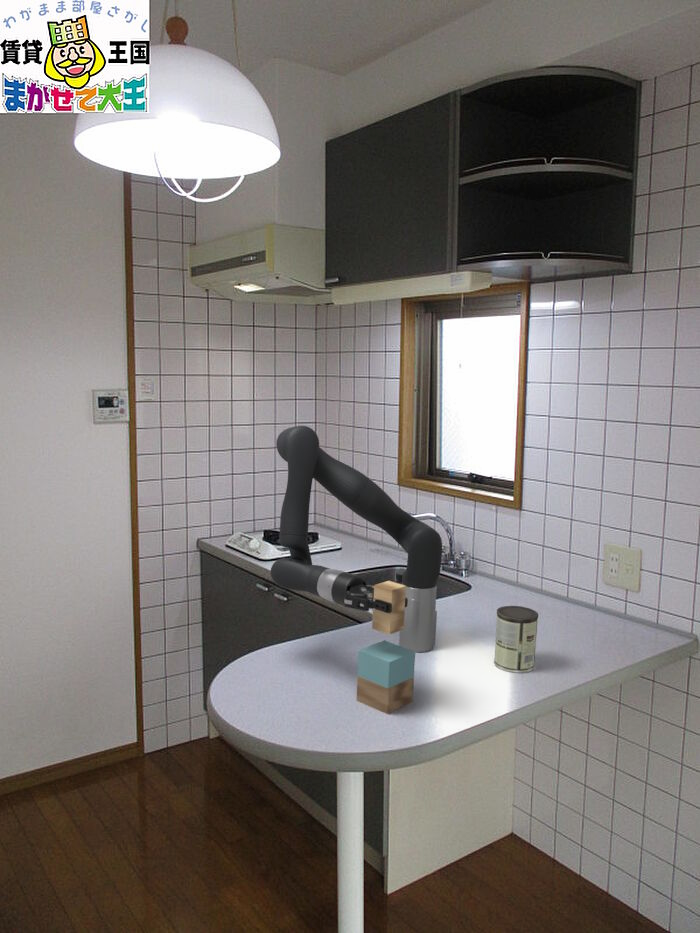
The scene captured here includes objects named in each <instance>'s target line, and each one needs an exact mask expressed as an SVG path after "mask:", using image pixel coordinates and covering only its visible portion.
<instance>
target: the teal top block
mask: <svg viewBox="0 0 700 933" xmlns="http://www.w3.org/2000/svg"><path fill="white" fill-rule="evenodd" d="M357 651H358V653H357V655H358V656H357V673H356V676H359V677H362V678H364V679H366V680H369V681H371V682H374V683H376V684H378V685H381V686H383V687H385V688H391V687H393V686H395V685H397V684H399V683H402V682H404V681H406V680H408V679H411V678H413V677H415V665H416V664H415V663H416V652H415V651H412V650H410V649H407V648H404V647H401V646H399V644H396V643H392V642H391V641H387V640H386V639H385V640H382V641H380V642H376V643H373V644H372V645H369V646H365V647H364V648H363V647H362V648H361V649H358V650H357Z"/></svg>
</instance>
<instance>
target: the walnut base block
mask: <svg viewBox="0 0 700 933" xmlns="http://www.w3.org/2000/svg"><path fill="white" fill-rule="evenodd" d="M356 676H357V675H356ZM414 677H415V676H414ZM414 677H413V678H411V679H408V680H406V681H404V682H402V683H399V684H397V685H395V686H393V687H391V688H385V687H383V686H381V685H378V684H376V683H374V682H371V681H369V680H366V679H364V678H362V677H359V676H357V681H356V702H358V703H360V704H363V705H364V706H367V707H370V708H372V709H374V710H377V711H379V712H382V713H384V714H386V715H390V714H391V713H393V712H394V711H397V710H398V709H401V708H403V707H405V706H407V705H408V704H411V703H412V702H413V700H414V696H413V695H414V684H415V683H414V682H415V681H414V680H415V679H414Z"/></svg>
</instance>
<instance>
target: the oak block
mask: <svg viewBox="0 0 700 933" xmlns="http://www.w3.org/2000/svg"><path fill="white" fill-rule="evenodd" d="M373 586H374V597H375V598H377V600H378V599H380V600H383V601H386V602H389V603H391V604H392V612H391V613H386V612H383V611H379V610H372V618H371V619H372V620H371V629H373V630H375V631H378V632H381V633H384V634H386V635H389V636H390V635H392V634H395V633H398V632H400V631H401V630H403V629H404V615H405V598H406V586H405V585H402V584H398V583H395V582H394V581H391V580H387V581H384V582H380V583H376V584H373Z"/></svg>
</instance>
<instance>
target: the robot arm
mask: <svg viewBox="0 0 700 933" xmlns="http://www.w3.org/2000/svg"><path fill="white" fill-rule="evenodd" d="M275 446H276V450H277V452H278V454H279V456H280V457H281V459H282V460H284V461H285V462H287V483H286V484H287V485H286V489H285V494H284V498H283V501H282V505H281V511H280V517H279V518H280V520H279V521H280V522H279V536H278V537H279V539H278V540H279V545H280V546H282V547H283V548H287V549H288V551H289V555H290V557H283V558H278V559H277V560H275V561H274V563H273V564H272V565H271V568H270V577H271V579H272V581H273V582H274V584H275V585H277V586H278V587H281V588H282V589H286V590H293V591H298V592H305V593H309V594H311V595H315V596H317V597H320V598H323V599H325V600H327V601H329V602H331V603H335V604H338V605H340V606H343V607H346V608H348V609H353V610H354V609H355V610H359V611H363V612H369V611H370V610H371V611H373V610H379V611H383V612H386V613H391V612H392V604H391V603H389V602H386V601H383V600H380V599H378V600H377V598H375V597H374V584H373V585H372V584H367V583H366V582H365V579H364V578H363V577H362V576H360V575H357V574H354V573H351V572H350V573H349V572H346V571H343V570H340V569H335V568H330V567H326V566H322V565H318V564H313V561H312V556H311V551H310V546H309V540H308V538H309V536H308V535H309V524H310V523H309V522H310V521H309V520H310V519H309V518H310V503H311V502H310V501H311V493H312V485H313V479H314V480H315V481H316V482H317V483H319V485H321V486H322V487H323V488H324V489H325V490H326V491H327V492H328V493H330V494H331V495H332V496H333V497H334V498H336V499H337V500H338V501H340V502H341V503H342V504H343V505H344V506H346V507H347V508H348V509H350V510H351V512H353V513H355V514H356V515H358V516H359V517H360V518H362V519H364V520H365V521H367V522H369V523H371V524H373V525H374V526H377V527H378V528H380V529H382V530H383V531H385V533H387V535H388V536H390V537H391V538H392V539H393V540H395V542H396V543H397V544H398V545H399V546H401V548H402V549H403V550H404V551H405V552H406V553H407V559H406V560H407V561H406V562H407V563H406V570H404V571H405V572H404V573H403V575H402V585H405V586H406V598H405V615H404V629H403V630H401V631H399V639H398V645H399V646H401V647H404V648H407V649H410V650H412V651H415V653H424V652H425V653H426V652H429V651H431V650H433V649H434V646H435V645H436V637H437V636H436V635H437V634H436V632H437V616H438V615H437V614H438V611H437V610H436V609H437V608H436V607H437V606H436V605H437V586H438V579H439V577H440V574H441V568H442V567H441V566H442V556H443V540H442V538H441V535H440V534H439V532H438V531H437V530H436V529H434V528H433V527H431V526H430V525H428V524H427V523H425V522H423V521H422V520H419V519H417V518H416V517H414V516H413V515H411V514H410V513H408V512H406V511H405V510H404V509H402V508H401V507H400V506H399V505H397V503H396V502H395V501H394V500H393V499H392V498H391V497H390V495H389V494H388V493H387V492H386V491H384V489H383V488H381V486H379V485H378V484H377V483H375V482H374V481H373V480H372V479H370V478H369V477H368V476H367V475H366V474H364V473H362V472H361V471H360V470H358V469H356V468H354V467H351V465H348V464H346V463H344V462H342V461H340V460H338V459H337V458H334V457H332V456H331V455H329V453H327V452H326V451H325V450H324V449H322V448H321V447H320V440H319V437H318V434H317V433H316V431H315V430H314V429H312V428H311V427H310V426H306V425H297V426H291V427H288V428H286V429H284V430H283V431H281V432H280V433H279V434H278V436H277V438H276V445H275Z"/></svg>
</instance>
